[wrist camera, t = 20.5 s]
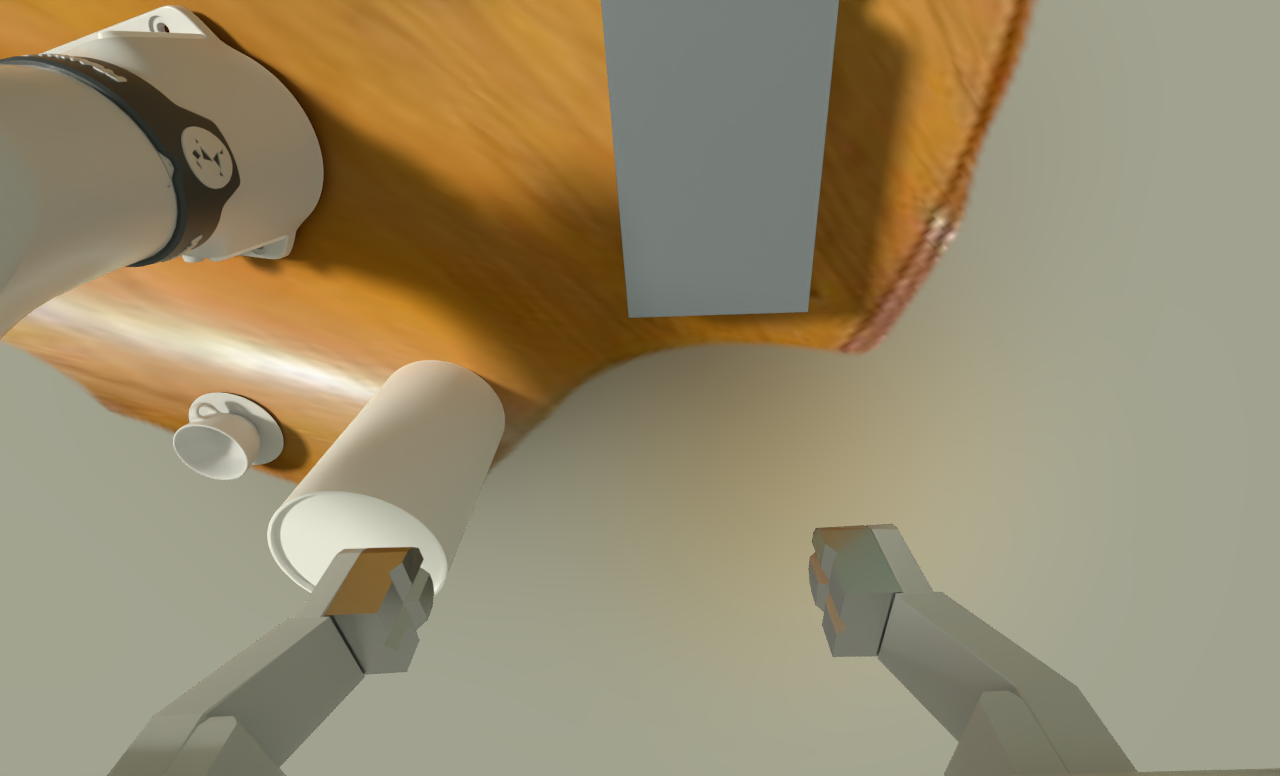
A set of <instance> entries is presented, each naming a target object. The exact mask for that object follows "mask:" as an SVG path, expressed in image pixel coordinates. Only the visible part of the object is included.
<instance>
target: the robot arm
mask: <svg viewBox="0 0 1280 776" xmlns="http://www.w3.org/2000/svg"><path fill="white" fill-rule="evenodd" d="M165 25H166V26H167V27H168V29H169V32H170V33H167V32H166V31H165V28H164V27H165ZM323 176H324V171H323V159H322V154H321V150H320V146H319V143H318V139H317V137H316V134H315V132H314V129H313V127H312V125H311V123H310V121H309V119H308V117H307V116H306V114H305V112H304V110H303V109H302V107H301V106H300V104H299V103H298V102H297V100H296V99H295V98H294V96H293V95H292V94H291V93H290V91H289V90H288V89H287V88H286V87H285V86H284V85H283V84H282V83H281V82H280V81H279V80H278V79H277V78H276V77H275V76H274V75H273V74H272V73H271V72H269V71H268V70H267V69H266V68H264V67H263V66H262V65H260V64H259V63H257V62H256V61H254V60H253V59H251V58H250V57H248V56H246V55H244V54H242V53H240V52H239V51H237V50H235V49H233V48H231V47H230V46H228V45H227V44H225V43H224V42H222V41H221V40H220V39H219V38H218V37H217V36H216V35H215V34H214V33H213V32H212V31H211V30H210V29H209V28H208V27H207V26H206V25H205V24H204V23H203V22H202V21H201V20H200V19H199V18H198V17H197V16H196V15H195V14H193V13H192V12H191V11H190V10H188V9H187V8H185V7H182V6H179V5H168V6H162V7H160V8H157V9H155V10H152V11H149V12H147V13H144V14H142V15H139V16H136V17H134V18H131V19H129V20H126V21H124V22H121V23H118V24H116V25H113V26H111V27H108V28H105V29H103V30H100V31H98V32H95V33H92V34H90V35H87V36H85V37H82V38H80V39H77V40H74V41H72V42H69V43H67V44H64V45H61V46H59V47H56V48H54V49H51V50H48V51H46V52H43V53H41V54H38V55H25V56H16V57H10V58H6V59H1V60H0V339H1V338H2V337H3V336H4V335H5V334H6V333H7V332H8V331H10V330H11V329H12V328H13V327H14V326H15V325H16V324H17V323H18V322H19V321H20V320H22V319H23V318H24V317H25V316H27V315H28V314H29V313H30V312H32V311H33V310H34V309H36V308H38V307H39V306H41V305H43V304H44V303H46V302H48V301H49V300H51V299H53V298H54V297H57V296H59V295H61V294H63V293H65V292H67V291H70V290H72V289H74V288H76V287H78V286H80V285H83V284H85V283H87V282H89V281H92V280H94V279H96V278H98V277H101V276H103V275H105V274H108V273H110V272H113V271H115V270H118V269H120V268H123V267H140V266H145V265H150V264H154V263H158V262H161V261H162V262H165V261H168V260H171V259H174V258H177V257H179V256H181V255H182V257H183V259H184V261H185V262H200V261H203V260H205V258H208V259H210V260H211V261H213V262H215V261H222V260H225V259H228V258H231V257H234V256H237V255H242V256H250V257H258V258H266V259H280V258H283V257H286V256H288V255H289V254H290V252H291V250H292V247H293V244H294V240H295V235H296V231H297V229H298V227H299V226H300V225H301V224H302V223H303V221H304V220H305V219H306V218H307V217H308V216H309V215H310V214H311V213H312V211H313V210H314V208H315V207H316V205H317V203H318V200H319V198H320V195H321V191H322V186H323ZM262 246H264V247H262ZM812 543H813V546H814V549H815V553H814V554H813V555H812V556H811V557H810V561H809V580H810V585H811V591H812V595H813V598H814V601H815V605H817V606H818V607H819V608H820V609H821V610H822V611H824V616H823V622H822V626H823V629H824V632H825V635H826V638H827V641H828V644H829V647H830V650H831V653H832V656H833V657H837V656H839V657H842V656H878V659H879V660H880V661H881V662H882V663H883V664H884V665H885V666H886V668H887V669H889V671H890V672H891V673H892V674H893V675H894V676H895V677H896V678H897V679H898V680H899V681H900V682H901V683H902V684H903V685H904V686H905V687H906V688H907V689H908V690H909V691H910V692H911V693H912V694H913V695H914V696H915V697H916V698H917V699H918V701H920V703H921V704H922V705H923V706H924V707H925V708H926V709H927V710H928V711H929V712H930V713H931V714H932V715H933V716H934V717H935V718H936V719H937V720H938V721H939V722H940V723H941V724H942V725H943V726H944V727H945V728H946V729H947V730H948V731H949V732H950V734H951V735H952V736H954V738H955V739H956V740H957V741H958V742H959V743H958V746H957V748H956V750H955V752H954V754H953V756H952V759H951V760H950V762H949V765H948V767H947V769H946V771H945V773H944V775H945V776H1280V768H1275V769H1237V770H1200V771H1161V772H1137V770H1136V769H1135V767H1134V766H1133V765H1132V763H1131V762H1130V760H1129V759H1128V757H1127V756H1126V755H1125V753H1124V752H1123V751H1122V749H1121V748H1120V746H1119V745H1118V743H1117V742H1116V741H1115V739H1114V738H1113V736H1112V735H1111V734H1110V733H1109V731H1108V729H1107V728H1106V726H1105V725H1104V724H1103V722H1102V721H1101V719H1100V718H1099V717H1098V715H1097V714H1096V712H1095V711H1094V710H1093V708H1092V707H1091V705H1090V704H1089V702H1088V701H1087V700H1086V698H1085V697H1084V695H1083V694H1082V693H1081V691H1080V690H1079V688H1078V687H1077V686H1076V685H1074V684H1073V683H1071V682H1070V681H1068V680H1067V679H1066V678H1064V677H1063V676H1061V675H1060V674H1058V673H1057V672H1056V671H1054V670H1053V669H1051V668H1050V667H1048V666H1047V665H1046V664H1044V663H1043V662H1041V661H1040V660H1038V659H1037V658H1035V657H1034V656H1033V655H1031V654H1030V653H1028V652H1027V651H1025V650H1024V649H1023V648H1021V647H1020V646H1018V645H1017V644H1015V643H1014V642H1013V641H1011V640H1010V639H1008V638H1007V637H1005V636H1004V635H1003V634H1001V633H1000V632H998V631H997V630H995V629H994V628H993V627H991V626H990V625H988V624H987V623H985V622H984V621H983V620H981V619H980V618H978V617H977V616H975V615H974V614H973V613H971V612H969V611H968V610H967V609H965V608H964V607H963V606H961V605H960V604H958V603H957V602H955V601H954V600H952V599H951V598H950V597H948V596H947V595H945V594H944V593H942V592H933V590H932V588H931V587H930V585H929V583H928V581H927V580H926V578H925V576H924V574H923V573H922V571H921V569H920V567H919V566H918V564H917V562H916V560H915V559H914V557H913V555H912V553H911V551H910V550H909V548H908V546H907V544H906V543H905V541H904V539H903V537H902V536H901V534H900V532H899V530H898V529H897V527H895V526H894V525H893V524H883V525H867V526H864V525H863V526H844V527H827V528H816V529H815V531H814V532H813V538H812ZM423 560H424V558H423V556H422V554H421V552H420V550H419V548H416V547H389V548H358V549H343V550H342V551H340V552H339V553H337V554H336V555H335V557H334V559H333V560H332V562H331V563H330V565H329V566H328V568H327V569H326V571H325V572H324V574H323V576H322V577H321V579H320V580H319V582H318V583H317V585H316V586H315V588H314V589H313V591H312V593H311V594H310V596H309V597H308V599H307V600H306V602H305V603H304V605H303V607H302V608H301V610H300V611H299V613H298V614H297V616H296V617H295V618H288V619H286V620H285V621H284V622H282V623H281V624H279V625H278V626H276V627H275V628H274V629H272V630H271V631H270V632H268V633H267V634H266V635H264V636H263V637H261V638H260V639H259V640H257V641H256V642H254V643H253V644H252V645H251V646H249V647H247V648H246V649H245V650H243V651H242V652H241V653H239V654H238V655H237V656H235V657H234V658H232V659H231V660H230V661H228V662H227V663H225V664H224V665H223V666H221V667H220V668H219V669H217V670H216V671H214V672H213V673H212V674H210V675H209V676H208V677H206V678H205V679H203V680H202V681H201V682H199V683H198V684H197V685H195V686H194V687H192V688H191V689H190V690H188V691H187V692H185V693H184V694H183V695H181V696H180V697H179V698H177V699H176V700H175V701H173V702H172V703H170V704H169V705H168V706H166V707H165V708H163V709H162V710H161V711H160V712H158V713H157V714H155V715H154V716H153V717H152V718H151V719H150V721H149V722H148V723H147V724H146V726H145V727H144V729H143V730H142V731H141V732H140V734H139V735H138V736H137V738H136V739H135V740H134V741H133V743H132V744H131V745H130V747H129V748H128V749H127V751H126V752H125V753H124V754H123V756H122V757H121V758H120V760H119V761H118V762H117V764H116V765H115V766H114V768H113V769H112V770H111V771H110V773H109V774H108V775H107V776H286V775H285V774H284V773H283V771H281V769H280V768H279V767H280V766H281V765H282V764H283V763H284V762H285V761H286V760H287V759H288V758H289V757H290V756H291V754H293V752H294V751H295V750H296V749H297V748H298V747H299V746H300V745H301V744H302V743H303V742H304V741H305V740H306V739H307V738H308V736H310V734H311V733H312V732H313V731H314V730H315V729H316V728H317V727H318V726H319V725H320V724H321V723H322V722H323V721H324V720H325V719H326V717H327V716H328V715H329V714H330V713H331V712H332V711H333V710H334V709H335V708H336V707H337V706H338V705H339V704H340V703H341V702H342V701H343V700H344V698H345V697H346V696H347V695H348V694H349V693H350V692H351V691H352V690H353V689H354V688H355V687H356V686H357V685H358V684H359V683H360V681H361V680H362V679H363V678H364V677H365V676H364V675H365V674H380V673H395V672H407V670H408V667H409V665H410V663H411V660H412V658H413V655H414V653H415V650H416V647H417V645H418V643H419V638H418V635H417V632H416V630H417V629H418V628H419V627H420V626H421V625H422V624H424V623H425V622H426V621H427V620H428V617H429V615H430V612H431V609H432V605H433V597H434V587H433V581H432V578H431V576H430V573H428V572H427V571H425V570H424V569H422V568H421V567H420V566H421V564H422V562H423Z"/></svg>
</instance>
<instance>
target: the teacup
mask: <svg viewBox="0 0 1280 776" xmlns="http://www.w3.org/2000/svg"><path fill="white" fill-rule="evenodd" d="M189 421H190V423H188V424H187V425H185V426H183V427H181V428H180V429H179V430H178V431H177V432H176V433H175V435H174V438H173V445H174V449H175V451H176V453H177V455H178V456H179V457H180V459H181V460H182V461H183V462H184V463H185V464H186V465H187V466H189V467H190V468H191V469H193V470H194V471H196V472H198V473H199V474H202V475H204V476H207V477H209V478H213V479H219V480H232V479H236V478H238V477H240V476H242V475H243V474H244V473H245V472H246V471H247V470H248V468H249V467H250V466H251V465H261V464H266V463H269V462H271V461H273V460H275V459H276V458H277V457H278V456H279V455H280V453H281V452H282V449H283V445H284V440H283V435H282V432H281V429H280V427H279V426H278V424H277V422H276V421H275V420H274V419H273V417H272V416H271V415H270V414H269V413H268V412H266V411H265V410H264V409H263V408H261V407H260V406H259V405H257V404H255V403H254V402H252V401H250V400H248V399H246V398H243V397H241V396H238V395H234V394H229V393H220V392H217V393H209V394H205V395H202V396H200V397H199V398H197V399H196V400H195V401H194V402H193V403H192V405H191V407H190V410H189Z"/></svg>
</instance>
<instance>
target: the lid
mask: <svg viewBox="0 0 1280 776" xmlns="http://www.w3.org/2000/svg"><path fill="white" fill-rule="evenodd" d="M601 6H602V18H603V29H604V41H605V52H606V64H607V75H608V86H609V98H610V109H611V121H612V132H613V144H614V155H615V167H616V178H617V189H618V201H619V212H620V224H621V235H622V247H623V258H624V270H625V281H626V292H627V304H628V315H629V318H639V317H669V316H699V315H729V314H759V313H789V312H808V305H809V295H810V286H811V276H812V266H813V256H814V246H815V236H816V226H817V216H818V206H819V196H820V186H821V176H822V166H823V156H824V146H825V136H826V126H827V116H828V106H829V96H830V86H831V76H832V66H833V56H834V46H835V36H836V26H837V16H838V6H839V0H601Z"/></svg>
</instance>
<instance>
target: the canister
mask: <svg viewBox="0 0 1280 776" xmlns="http://www.w3.org/2000/svg"><path fill="white" fill-rule="evenodd" d="M504 429H505V413H504V409H503V406H502V404H501V401H500V399H499V397H498V396H497V394H496V393H495V391H494V390H493V389H492V388H491V386H490V385H489V384H488V383H487V382H486V381H484V380H483V379H482V378H481V377H480V376H478V375H477V374H475V373H474V372H472V371H470V370H468V369H466V368H464V367H462V366H459V365H457V364H453V363H450V362H445V361H438V360H424V361H418V362H413V363H410V364H408V365H405V366H403V367H401V368H400V369H398V370H397V371H395V372H394V373H393V374H392V375H391V376H390V377H389V378H388V380H387V381H386V382H385V383H384V384H383V386H382V387H381V388H380V389H379V390H378V392H377V393H376V394H375V395H374V396H373V397H372V399H371V400H370V401H369V402H368V403H367V405H366V406H365V407H364V408H363V409H362V410H361V412H360V413H359V414H358V415H357V416H356V418H355V419H354V420H353V421H352V422H351V423H350V425H349V426H348V427H347V428H346V429H345V431H344V432H343V433H342V434H341V435H340V436H339V438H338V439H337V440H336V441H335V442H334V444H333V445H332V446H331V447H330V448H329V450H328V451H327V452H326V453H325V454H324V455H323V457H322V458H321V459H320V460H319V461H318V463H317V464H316V465H315V466H314V467H313V468H312V470H311V471H310V472H309V473H308V474H307V476H306V477H305V478H304V479H303V480H302V481H301V483H300V484H299V485H298V486H297V487H296V489H295V490H294V491H293V492H292V494H290V496H289V497H288V498H287V499H286V500H285V502H284V503H283V504H282V505H281V506H280V508H279V509H278V510H277V511H276V512H275V514H274V515H273V517H272V518H271V520H270V523H269V526H268V532H267V533H268V534H267V537H268V544H269V548H270V551H271V553H272V555H273V557H274V559H275V560H276V562H277V564H278V565H279V566H280V568H281V569H282V570H283V571H284V572H285V573H286V574H287V575H288V576H289V577H290V578H291V579H292V580H293V581H294V582H296V583H297V584H298V585H299V586H301V587H302V588H304V589H306V590H307V591H309V592H310V593H312V591H313V589H314V588H315V586H316V585H317V583H318V582H319V580H320V579H321V577H322V576H323V574H324V572H325V571H326V569H327V568H328V566H329V565H330V563H331V562H332V560H333V559H334V557H335V555H336V554H337V553H339V552H340V551H342V550H343V549H358V548H389V547H416V548H419V550H420V552H421V554H422V556H423V558H424V560H423V562H422V564H421V566H420V567H421V568H422V569H424V570H425V571H427V572H428V573H430V576H431V578H432V581H433V587H434V596H435V595H436V594H437V593H438V592H439V591H440V589H441V588H442V586H443V584H444V582H445V580H446V577H447V575H448V572H449V570H450V567H451V564H452V562H453V559H454V557H455V554H456V552H457V549H458V547H459V544H460V542H461V539H462V537H463V534H464V532H465V529H466V527H467V524H468V521H469V519H470V516H471V514H472V511H473V509H474V506H475V504H476V501H477V499H478V496H479V494H480V491H481V489H482V486H483V484H484V481H485V478H486V476H487V473H488V471H489V468H490V466H491V463H492V461H493V458H494V456H495V453H496V451H497V448H498V446H499V443H500V440H501V438H502V435H503V433H504Z"/></svg>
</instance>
